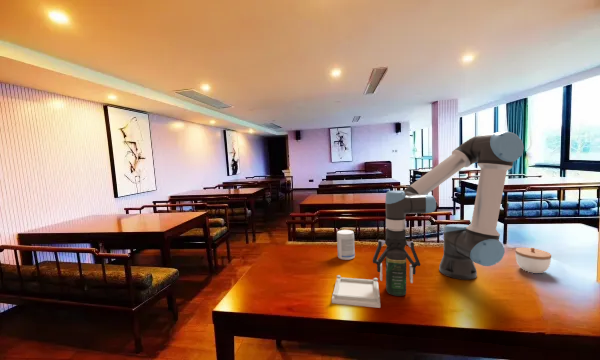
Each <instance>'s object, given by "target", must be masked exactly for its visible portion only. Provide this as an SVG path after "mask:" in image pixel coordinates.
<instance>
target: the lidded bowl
mask: <svg viewBox="0 0 600 360" xmlns="http://www.w3.org/2000/svg"><path fill="white" fill-rule="evenodd" d="M514 252H515V261H516V263H517V265H518V267H519V268H521V270H522V269H523V270H522V271H524V270H525V271H524V272H526V271H528V272H527V273H529V272H533V273H542V274H543V273H545V272H546V271H547V270H548V269H549V268H550V265H551V261H552V254H551V253H549V252H548V251H546V250H542V249H537V248H535V247H516V248H515V251H514ZM533 273H532V274H533Z"/></svg>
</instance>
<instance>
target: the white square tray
mask: <svg viewBox="0 0 600 360" xmlns="http://www.w3.org/2000/svg"><path fill="white" fill-rule="evenodd" d="M378 281H379V278H377V277H373V279H369V278H368V279H366V278H356V277H354V278H352V277H342V276H341V275H340V274H338V275H336V279H335V285H334V289H333V293H331V294H332V297H331V304H338V305H346V306H356V307H367V308H379V309H380V308H381V296H380V289H379V282H378Z"/></svg>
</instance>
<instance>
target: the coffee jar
mask: <svg viewBox="0 0 600 360" xmlns="http://www.w3.org/2000/svg"><path fill="white" fill-rule="evenodd" d="M406 252H407V251H406ZM406 252H403V251H401V250H400V249H392V250H390V251H387V252H386V257H385V289H386V292H387V293H388V295H392V296H395V297H403V296H405V295H406V294H407V258H406Z"/></svg>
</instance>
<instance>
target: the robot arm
mask: <svg viewBox="0 0 600 360" xmlns="http://www.w3.org/2000/svg"><path fill="white" fill-rule="evenodd" d="M523 154H524V143H523V140H522V139H521V138H520V136H519V135H518V134H516V133H514V132H510V131H496V132H492V133H487V134H486V133H485V134H484V133H483V134H479V135H475V136H473V137H470V138H469V139H468V140H466V141H465V142H463V143H462V144H460V145H459V146H457V147H456V148H455V149H453V150H452V151H451V155H449V156H448V157H446V158H445V159H444V160H443V161H441V162H440V163H438V164H437V165H436V166H435V167H433V168H432V169H430V170H429V171H428V172H426V173H425V174H424V175H422V176H420V177H419V179H417V180H416V181H414V182H413V183H411V184H410V185H409V186H408V187H406V188H405V189H404V190H403V189H401V190H388V191H386V193H385V202H384V203H385V227H386V229H385V240H381V239H378V240H377V243H378V244H377V247H376V249H375V252H374V255H373V258H372V263H373V264H375V265H376V271H377V272H378V273H379V280H380V281H381V282H383V261H384V260H386V252H387V251H390V250H392V249H400V250H401V251H403V252H406V260H407V261H408V263H410V264H409V282H410V284H413V283H414V276H413V275H416V268H417V267H420V266H421V263H420V259H419V257H418V254H417V252H416V250H415V243H414V241H413V240H410V241H407V240H406V215H412V214H418V215H419V214H429V213H430V214H431V213H434V212H435V211H436V208H437V200H436V198H435V197H434V195H432V194H430V192H432V191H433V190H435V189H437V188H438V187H439V186H440V185H442V184H443V183H444V182H446V181H447V180H448V179H451V177H453V176H454V175H455V174H456V173H458V172H459V171H461V170H462V169H463V168H468V167H470V166H472V165H473V164H475V163H476V164H477V166H478V167H479V169H480V170H479V171H480V172H479V177H478V183H477V187H476V188H477V189H476V194H475V195H476V196H475V201H474V205H473V212H472V217H471V223H470V224H460V223H457V224H456V223H455V224H454V223H452V224H451V223H450V224H446V225H445V226H443V227H444V228H443V255H442V258H441V260H440V263H439V266H438V267H439V272H440V273H441V274H442V275H444V276H446V277H449V278H452V279H456V280H473V279H476V278H477V277H478V271H477V268H476V265H475V264H477V265H480V266H482V267H492V266H495V265H496V264H498V263H500V262H501V261H502V260H503V258H504V256H505V246H504V245H503V243H502V242H501V241H500V235H501V234H500V233H499V231H498V230H497V225H498V221H499V220H498V219H499V215H500V210H501V204H502V200H503V193H504V187H505V182H506V176H507V172H508V170H510V169H512V168H513V165H514V162H515V161H517V160H519V158H521V157H522V156H523ZM384 245H386V248H385V249H384V251H383V252H382V253H381V255H380V252H381V250H382V247H383V246H384ZM407 245H408V248H410V250H411V253H412V255H413V258H414V260H415V261H414V260H413V259H412V257H411V256H410V255H409V253H408V252H407V250H406V247H407ZM404 247H405V249H404ZM379 255H380V256H379Z"/></svg>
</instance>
